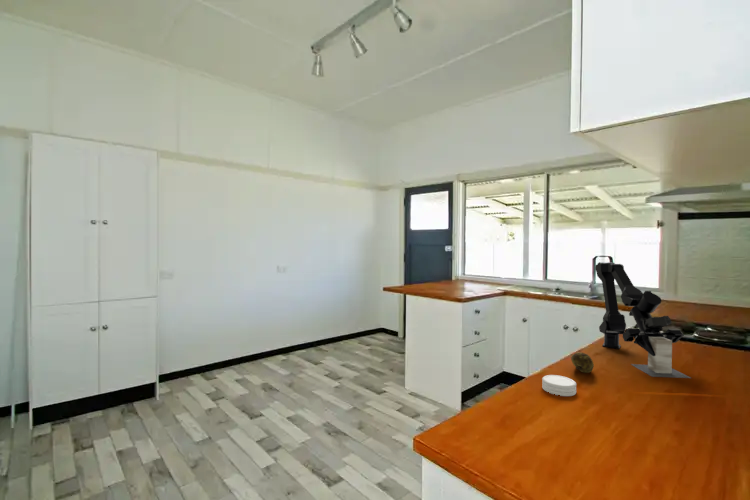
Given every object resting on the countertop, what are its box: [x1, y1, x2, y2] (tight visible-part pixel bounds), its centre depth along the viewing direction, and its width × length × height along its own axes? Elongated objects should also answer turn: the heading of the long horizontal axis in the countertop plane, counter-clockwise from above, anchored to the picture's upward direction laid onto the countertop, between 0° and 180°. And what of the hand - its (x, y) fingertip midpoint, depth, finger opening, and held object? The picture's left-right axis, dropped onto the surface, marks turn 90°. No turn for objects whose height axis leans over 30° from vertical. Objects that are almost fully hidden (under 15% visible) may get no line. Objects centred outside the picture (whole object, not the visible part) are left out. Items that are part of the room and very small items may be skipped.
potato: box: [570, 351, 595, 374], centre depth 134 cm, size 8×13×8 cm, turn 133°
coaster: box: [541, 374, 577, 397], centre depth 118 cm, size 10×10×4 cm
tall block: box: [647, 337, 673, 373], centre depth 133 cm, size 5×5×12 cm
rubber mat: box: [630, 363, 692, 379], centre depth 133 cm, size 13×13×1 cm
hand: (662, 355), depth 132 cm, fingers open, 5 cm apart
